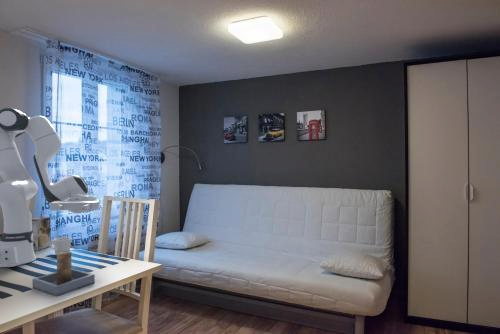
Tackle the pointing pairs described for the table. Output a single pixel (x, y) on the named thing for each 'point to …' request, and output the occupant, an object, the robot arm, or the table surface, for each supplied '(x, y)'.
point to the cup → (61, 244)
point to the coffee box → (41, 232)
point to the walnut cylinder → (64, 267)
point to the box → (50, 283)
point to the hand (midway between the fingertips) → (72, 207)
